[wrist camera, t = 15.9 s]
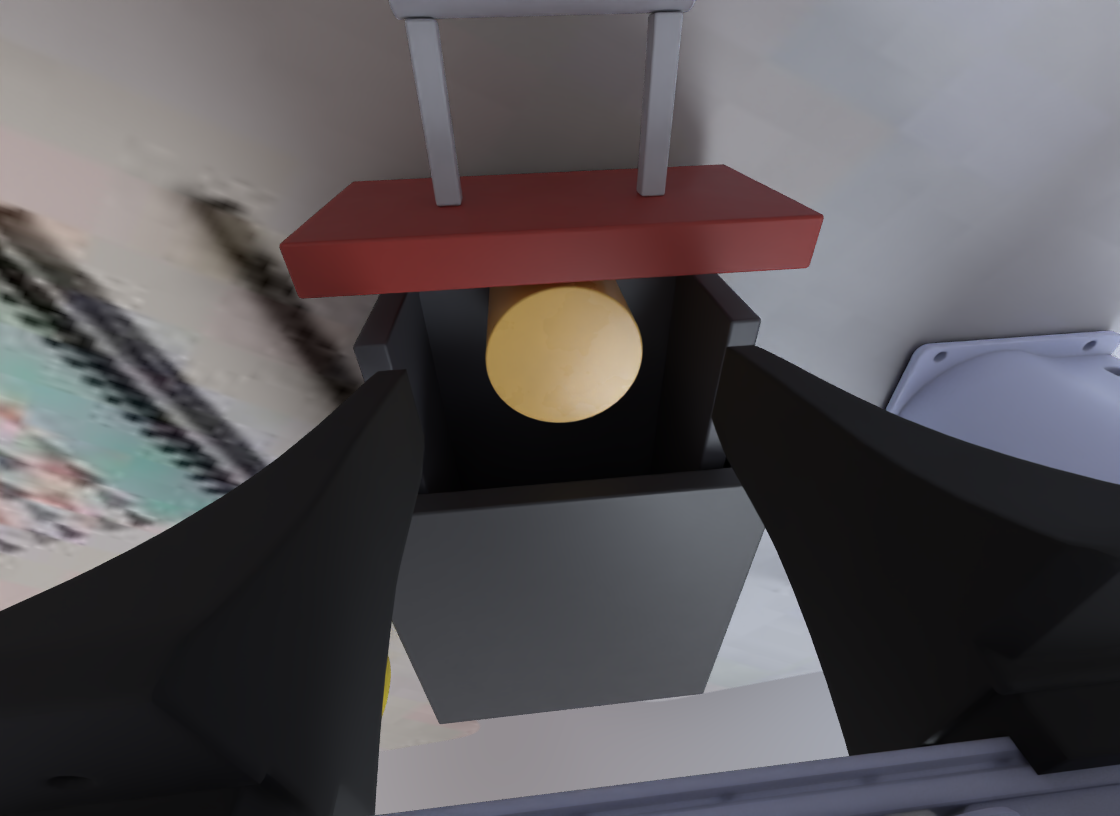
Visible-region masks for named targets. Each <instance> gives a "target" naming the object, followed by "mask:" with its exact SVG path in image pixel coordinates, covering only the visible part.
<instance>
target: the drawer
mask: <svg viewBox="0 0 1120 816" xmlns="http://www.w3.org/2000/svg"><path fill="white" fill-rule="evenodd" d="M695 1H696V0H388V2H389V5H390V7H391V10H392V12H393V14H394V16H395V17H396V18H397V19H399V20H402V19H407V20H405V27H406V33H407V39H408V45H409V50H410V56H411V62H412V68H413V73H414V79H415V85H416V91H417V96H418V102H419V108H420V114H421V119H422V125H423V131H424V137H425V142H426V148H427V154H428V160H429V165H430V171H431V177H432V178H420V179H398V180H376V181H355V182H352V183H351V184H350V185H348V186H347V187H346V188H345V189H344V190H343V191H341V192H340V193H339V194H338V195H337V196H336V197H334V198H333V199H332V200H331V201H330V202H328V203H327V204H326V205H325V206H324V207H323V208H321V209H320V210H319V211H318V212H317V213H316V214H314V215H313V216H312V217H311V218H310V219H308V220H307V221H306V222H305V223H304V224H303V225H301V226H300V227H299V228H298V229H297V230H296V231H294V232H293V233H292V234H291V235H290V236H289V237H287V238H286V239H285V240H284V241H283V242H281V243H280V250H281V253H282V255H283V258H284V261H285V263H286V266H287V268H288V271H289V274H290V276H291V279H292V281H293V284H294V287H295V289H296V292H297V294H298V296H299V298H302V299H304V298H321V297H337V296H354V295H370V294H380V296H379V297H378V299H377V301H376V303H375V305H374V307H373V309H372V311H371V313H370V315H369V317H368V319H367V321H366V323H365V325H364V327H363V329H362V331H361V332H360V334H359V336H358V338H357V340H356V342H355V344H354V347H353V348H354V351H355V354H356V357H357V360H358V363H359V366H360V369H361V373H362V376H363V379H364V382H366V381H367V380H368V379H369V378H370V377H371V376H373V375H374V374H375V373H376V372H378V371H386V370H400V369H406V370H407V374H408V378H409V381H410V385H411V389H412V393H413V397H414V400H415V404H416V408H417V412H418V416H419V419H420V423H421V427H422V431H423V435H424V438H425V445H424V457H423V467H422V476H421V482H420V486H419V491H418V495H419V494H431V493H442V492H454V491H466V490H477V489H489V488H500V487H512V486H523V485H535V484H546V483H558V482H570V481H581V480H593V479H604V478H616V477H627V476H639V475H651V474H662V473H674V472H685V471H697V470H708V469H720V468H723V466H724V462H725V458H726V455H725V453H724V451H723V448H722V446H721V443H720V441H719V438H718V435H717V433H716V430H715V427H714V424H713V421H712V418H711V416H712V412H713V407H714V403H715V398H716V393H717V389H718V384H719V380H720V375H721V370H722V366H723V361H724V357H725V352H726V347H730V346H744V345H754V346H755V342H756V338H757V334H758V331H759V327H760V323H761V320H760V318H759V317H758V316H757V315H756V314H755V313H754V312H753V310H752V309H751V308H750V307H749V306H748V305H747V304H746V303H745V302H744V301H743V300H742V299H741V298H740V297H739V296H738V295H737V294H736V293H735V292H734V291H733V290H732V289H731V288H730V287H729V286H728V285H727V284H726V282H725V281H724V280H723V279H722V278H721V277H720V276H719V275H718V274H717V273H733V272H749V271H766V270H782V269H799V268H807V267H809V265H810V262H811V258H812V255H813V252H814V248H815V245H816V242H817V239H818V235H819V232H820V229H821V225H822V222H823V219H824V218H823V215H822V214H820V213H818V212H816V211H814V210H812V209H810V208H808V207H806V206H804V205H803V204H801V203H799V202H797V201H795V200H793V199H791V198H789V197H787V196H785V195H783V194H781V193H779V192H777V191H775V190H773V189H771V188H769V187H767V186H765V185H763V184H761V183H759V182H757V181H755V180H753V179H751V178H749V177H747V176H745V175H743V174H741V173H740V172H738V171H736V170H734V169H732V168H730V167H728V166H726V165H724V164H722V165H700V166H679V167H668V157H669V147H670V138H671V128H672V118H673V108H674V99H675V89H676V79H677V70H678V60H679V50H680V40H681V31H682V21H683V13H682V12H687V11H689V10H691V9H692V7H693V5H694V4H695ZM633 13H652V14H650V15H649V17H648V30H647V45H646V59H645V74H644V88H643V103H642V117H641V132H640V147H639V161H638V168H636V169H614V170H592V171H571V172H549V173H528V174H506V175H484V176H463V177H460V176H459V169H458V162H457V155H456V147H455V140H454V133H453V126H452V119H451V112H450V105H449V98H448V91H447V83H446V76H445V69H444V62H443V55H442V48H441V41H440V34H439V27H438V23H437V21H436V20H434V19H441V18H479V17H518V16H556V15H595V14H633ZM601 280H616V282H617V284H618V286H619V288H620V291H621V293H622V295H623V297H624V299H625V301H626V303H627V305H628V307H629V309H630V311H631V313H632V315H633V317H634V319H635V321H636V323H637V325H638V328H639V330H640V334H641V337H642V344H643V356H642V362H641V366H640V369H639V372H638V375H637V377H636V379H635V381H634V383H633V384H632V386H631V387H630V389H629V390H628V391H627V392H626V394H625V395H624V396H623V397H622V398H621V399H620V400H619V401H618V402H616V403H615V404H614V405H612V406H611V407H610V408H608V409H606V410H605V411H603V412H601V413H599V414H597V415H595V416H592V417H589V418H587V419H583V420H579V421H574V422H565V423H554V422H545V421H540V420H536V419H533V418H530V417H527V416H525V415H523V414H521V413H519V412H517V411H516V410H514V409H513V408H511V407H510V406H509V405H507V404H506V403H505V402H504V401H503V400H502V399H501V398H500V396H499V395H498V394H497V393H496V391H495V390H494V388H493V386H492V384H491V382H490V380H489V377H488V374H487V370H486V362H485V353H486V337H487V321H488V305H489V289H490V287H502V286H518V285H535V284H551V283H568V282H584V281H601Z"/></svg>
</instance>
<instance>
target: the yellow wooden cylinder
mask: <svg viewBox="0 0 1120 816" xmlns="http://www.w3.org/2000/svg"><path fill="white" fill-rule="evenodd" d="M642 356H643V344H642V337H641V334H640V330H639V328H638V325H637V323H636V321H635V319H634V317H633V315H632V313H631V311H630V309H629V307H628V305H627V303H626V301H625V299H624V297H623V295H622V293H621V291H620V288H619V286H618V284H617V282H616V280H601V281H584V282H568V283H551V284H535V285H518V286H502V287H490V289H489V305H488V321H487V337H486V353H485V362H486V370H487V374H488V377H489V380H490V382H491V384H492V386H493V388H494V390H495V391H496V393H497V394H498V395H499V396H500V398H501V399H502V400H503V401H504V402H505V403H506V404H507V405H509V406H510V407H511V408H513V409H514V410H516V411H517V412H519V413H521V414H523V415H525V416H527V417H530V418H533V419H536V420H540V421H545V422H554V423H565V422H574V421H579V420H583V419H587V418H589V417H592V416H595V415H597V414H599V413H601V412H603V411H605V410H606V409H608V408H610V407H611V406H612V405H614V404H615V403H616V402H618V401H619V400H620V399H621V398H622V397H623V396H624V395H625V394H626V392H627V391H628V390H629V389H630V387H631V386H632V384H633V383H634V381H635V379H636V377H637V375H638V372H639V369H640V366H641V362H642Z"/></svg>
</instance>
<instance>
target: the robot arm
mask: <svg viewBox="0 0 1120 816" xmlns="http://www.w3.org/2000/svg"><path fill="white" fill-rule="evenodd" d="M1119 344H1120V334H1118V333H1116V332H1114V331H1097V332H1083V333H1069V334H1055V335H1041V336H1028V337H1014V338H1000V339H986V340H972V341H958V342H944V343H930V344H925V345H922V346H921V347H919V348H918V349H917V350H916V351H915V352H914V353H913V355H912V357H911V359H910V361H909V363H908V365H907V367H906V369H905V371H904V373H903V375H902V377H901V379H900V381H899V383H898V385H897V387H896V389H895V391H894V393H893V395H892V397H891V399H890V401H889V404H888V406H887V408H886V410H884V409H882V408H880V407H878V406H875V405H873V404H871V403H869V402H867V401H865V400H862V399H860V398H858V397H856V396H854V395H852V394H850V393H848V392H846V391H844V390H842V389H840V388H838V387H836V386H834V385H832V384H830V383H828V382H826V381H824V380H822V379H820V378H818V377H817V376H815V375H813V374H811V373H809V372H807V371H805V370H803V369H801V368H799V367H798V366H796V365H794V364H792V363H790V362H788V361H786V360H784V359H782V358H780V357H778V356H776V355H774V354H772V353H770V352H768V351H766V350H764V349H762V348H759V347H757V346H754V345H744V346H730V347H726V352H725V357H724V361H723V366H722V370H721V375H720V380H719V384H718V389H717V393H716V398H715V403H714V407H713V412H712V416H711V418H712V421H713V424H714V427H715V430H716V433H717V435H718V438H719V441H720V443H721V446H722V448H723V451H724V453H725V455H726V457H727V459H728V461H729V463H730V465H731V467H732V468H733V470H734V472H735V474H736V476H737V478H738V480H739V481H740V483H741V485H742V487H743V489H744V490H745V492H746V494H747V496H748V498H749V499H750V501H751V503H752V505H753V507H754V508H755V510H756V512H757V514H758V516H759V517H760V519H761V521H762V523H763V525H764V526H765V528H766V530H767V532H768V534H769V536H770V538H771V540H772V542H773V544H774V546H775V548H776V550H777V552H778V555H779V557H780V560H781V562H782V564H783V567H784V569H785V572H786V574H787V576H788V579H789V581H790V584H791V586H792V588H793V591H794V594H795V596H796V599H797V601H798V604H799V607H800V609H801V612H802V614H803V617H804V620H805V622H806V625H807V627H808V630H809V633H810V636H811V638H812V641H813V644H814V647H815V650H816V653H817V656H818V659H819V661H820V664H821V667H822V670H823V673H824V676H825V678H826V681H827V684H828V688H829V691H830V694H831V697H832V701H833V704H834V707H835V710H836V713H837V716H838V720H839V723H840V726H841V729H842V733H843V736H844V739H845V743H846V746H847V750H848V753H849V756H847V757H839V758H831V759H822V760H815V761H806V762H799V763H790V764H782V765H774V766H767V767H758V768H750V769H743V770H734V771H726V772H719V773H710V774H702V775H694V776H686V777H678V778H670V779H662V780H655V781H647V782H638V783H630V784H623V785H616V786H615V785H614V786H606V787H598V788H591V789H583V790H574V791H567V792H558V793H551V794H544V795H543V794H542V795H535V796H526V797H519V798H510V799H502V800H494V801H488V802H487V801H486V802H479V803H470V804H463V805H455V806H446V807H438V808H431V809H423V810H414V811H406V812H399V813H391V814H383V815H375V802H376V786H377V772H378V756H379V743H380V730H381V719H382V708H383V697H384V686H385V675H386V666H387V657H388V648H389V639H390V631H391V623H392V615H393V608H394V600H395V592H396V585H397V580H398V575H399V570H400V565H401V561H402V557H403V552H404V548H405V544H406V540H407V536H408V532H409V528H410V524H411V520H412V516H413V512H414V507H415V503H416V499H417V495H418V491H419V486H420V482H421V476H422V467H423V457H424V445H425V438H424V435H423V431H422V427H421V423H420V419H419V416H418V412H417V408H416V404H415V400H414V397H413V393H412V389H411V385H410V381H409V378H408V374H407V370H406V369H400V370H386V371H378V372H376V373H375V374H374V375H373V376H371V377H370V378H369V379H368V380H367V381H366V382H365V383H364V384H362V385H361V386H360V387H359V388H358V389H357V390H356V391H355V392H354V393H353V394H352V395H351V396H350V397H348V398H347V399H346V400H345V401H344V402H343V403H342V404H341V405H340V406H339V407H338V408H336V409H335V410H334V411H333V412H332V413H331V414H330V415H329V416H328V417H327V418H325V419H324V420H323V421H322V422H321V423H320V424H319V425H318V426H316V427H315V428H314V429H313V430H312V431H310V432H309V433H308V434H307V435H305V436H304V437H303V438H302V439H301V440H299V441H298V442H297V443H296V444H295V445H293V446H292V447H291V448H290V449H288V450H287V451H286V452H285V453H284V454H282V455H281V456H280V457H279V458H277V459H276V460H275V461H273V462H272V463H271V464H269V465H268V466H266V467H265V468H264V469H262V470H261V471H260V472H258V473H257V474H255V475H254V476H252V477H251V478H250V479H248V480H247V481H245V482H244V483H242V484H241V485H239V486H238V487H236V488H235V489H233V490H232V491H230V492H229V493H227V494H226V495H224V496H223V497H221V498H219V499H218V500H216V501H214V502H213V503H211V504H209V505H208V506H206V507H204V508H203V509H201V510H199V511H198V512H196V513H194V514H193V515H191V516H189V517H188V518H186V519H184V520H183V521H181V522H179V523H178V524H176V525H174V526H173V527H171V528H169V529H168V530H166V531H164V532H162V533H160V534H159V535H157V536H155V537H153V538H151V539H149V540H147V541H146V542H144V543H142V544H140V545H138V546H136V547H134V548H133V549H131V550H129V551H127V552H125V553H123V554H121V555H119V556H117V557H115V558H113V559H111V560H109V561H107V562H105V563H103V564H101V565H99V566H97V567H95V568H93V569H91V570H89V571H87V572H85V573H83V574H81V575H79V576H77V577H75V578H73V579H70V580H68V581H66V582H64V583H62V584H59V585H57V586H55V587H53V588H51V589H48V590H46V591H44V592H42V593H40V594H37V595H35V596H33V597H31V598H29V599H26V600H24V601H22V602H20V603H18V604H15V605H13V606H11V607H9V608H6V609H4V610H2V611H0V816H1120V359H1118V358H1116V357H1114V356H1112V355H1111V354H1112V352H1113V351H1114V350H1115V349H1116V347H1117V346H1118V345H1119Z"/></svg>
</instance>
